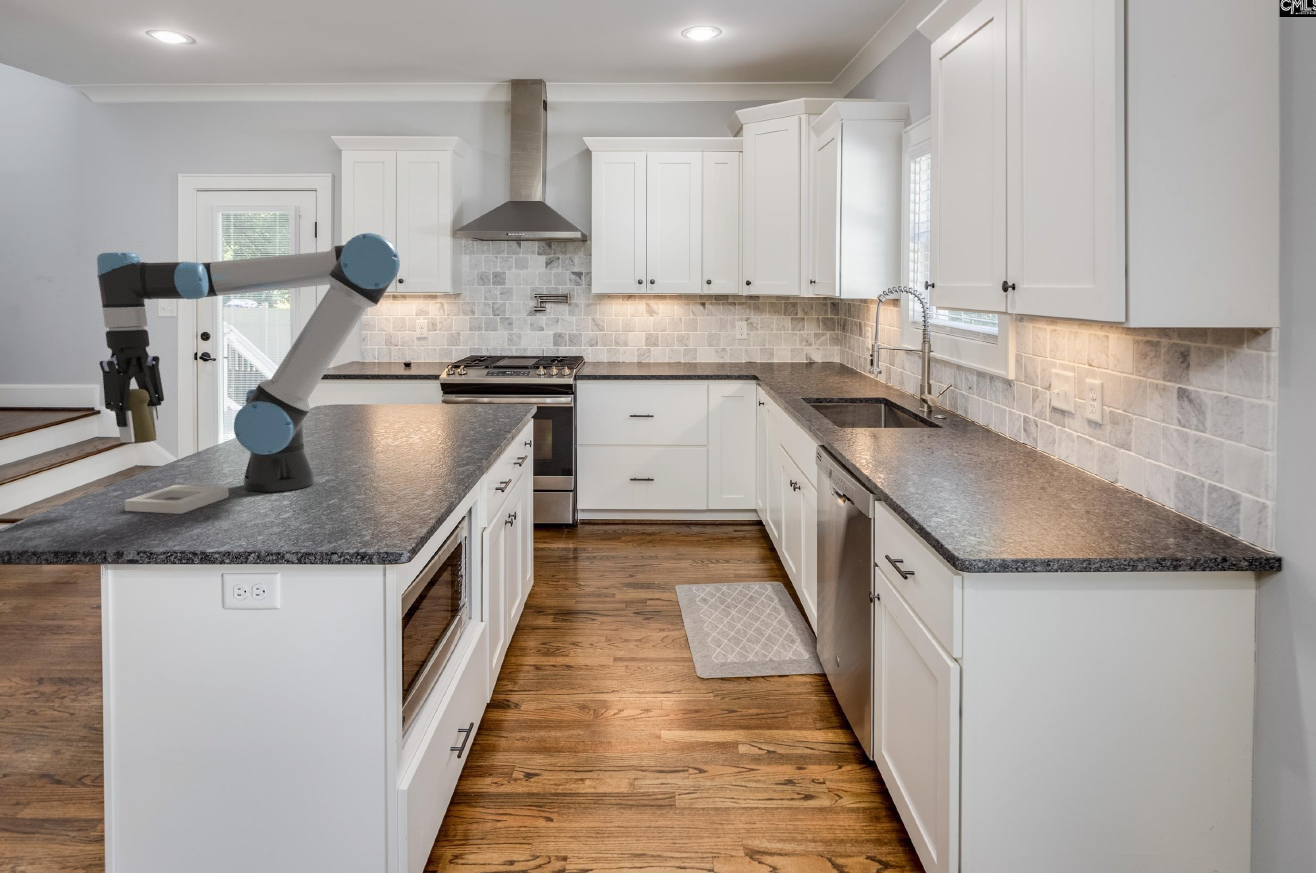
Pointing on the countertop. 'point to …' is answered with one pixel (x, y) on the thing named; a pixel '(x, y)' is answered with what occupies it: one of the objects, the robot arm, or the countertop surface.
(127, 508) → the socket plate
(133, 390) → the cork
